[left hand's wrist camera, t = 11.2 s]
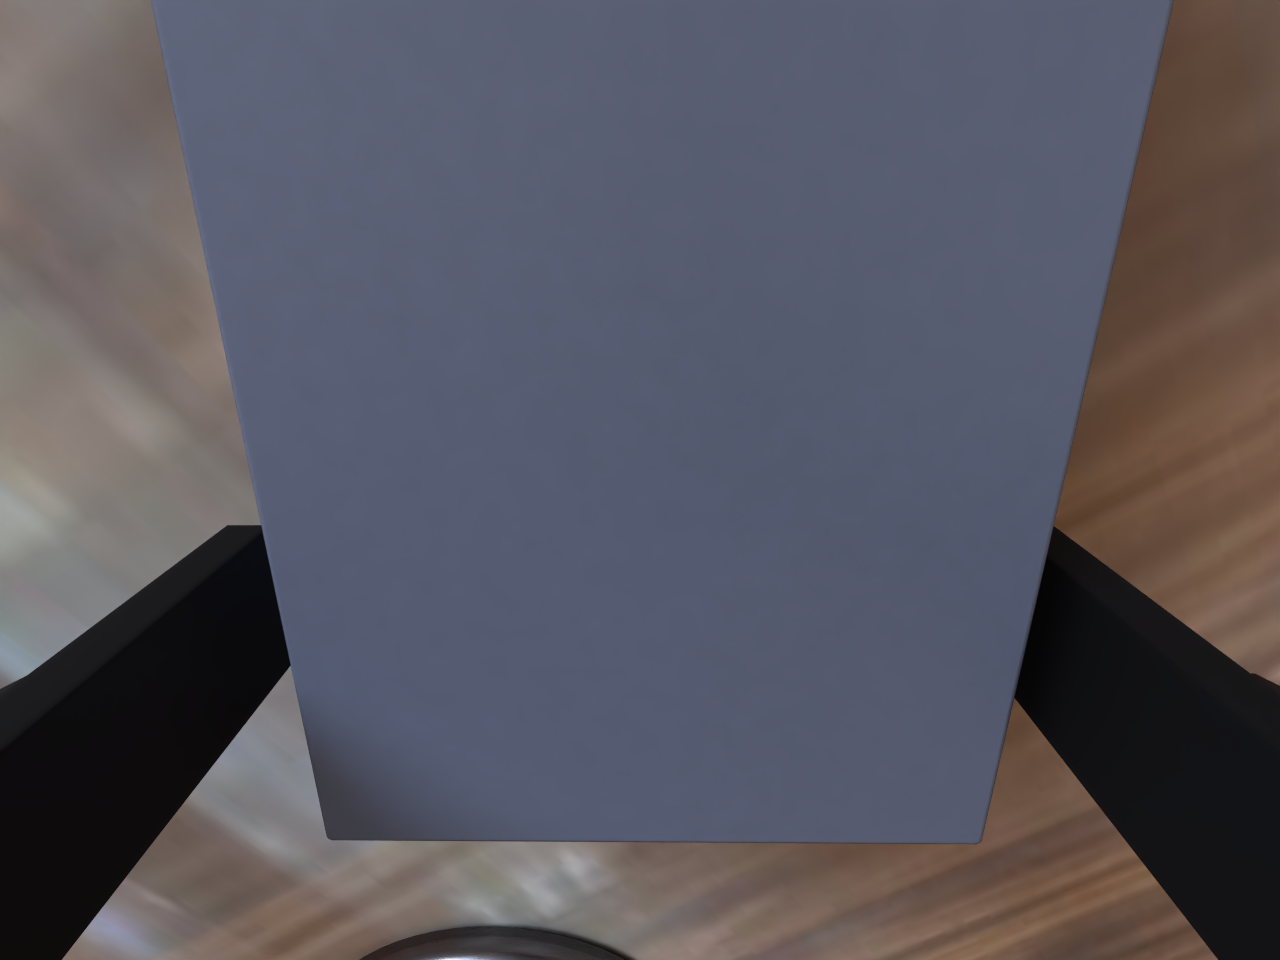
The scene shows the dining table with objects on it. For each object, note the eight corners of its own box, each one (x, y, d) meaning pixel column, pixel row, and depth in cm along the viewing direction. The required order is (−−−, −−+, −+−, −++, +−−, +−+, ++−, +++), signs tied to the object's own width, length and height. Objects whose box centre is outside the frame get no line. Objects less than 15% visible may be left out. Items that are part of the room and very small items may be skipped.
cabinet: (365, -507, 12) (-350, -2340, 3) (946, -513, 12) (1732, -2400, 3) (469, 559, 20) (325, 842, 11) (831, 560, 20) (983, 847, 11)
